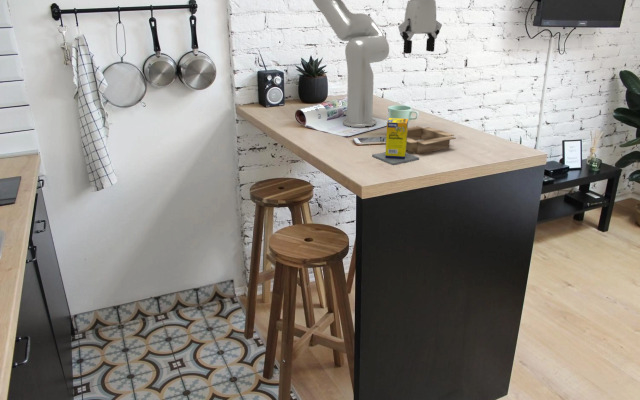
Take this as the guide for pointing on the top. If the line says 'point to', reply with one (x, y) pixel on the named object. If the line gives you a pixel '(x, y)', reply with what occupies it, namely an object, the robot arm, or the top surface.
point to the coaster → (394, 160)
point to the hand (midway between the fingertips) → (418, 52)
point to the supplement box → (396, 138)
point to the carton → (427, 139)
